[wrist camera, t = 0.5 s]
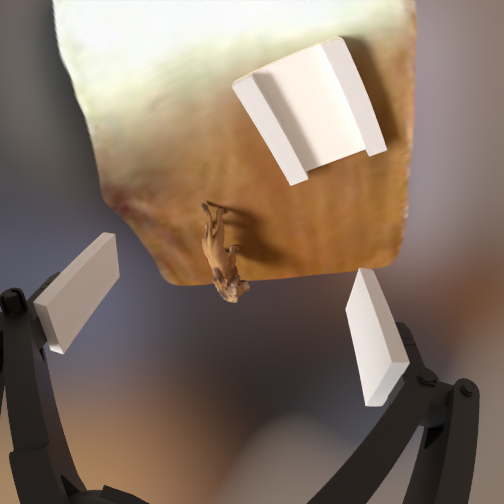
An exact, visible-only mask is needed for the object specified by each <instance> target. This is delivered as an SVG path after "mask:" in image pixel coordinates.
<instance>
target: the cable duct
mask: <svg viewBox="0 0 504 504" xmlns="http://www.w3.org/2000/svg"><path fill="white" fill-rule="evenodd" d="M232 88H233V90H234V91H235V93H236V94H237V96H238V98H239V99H240V101H241V102H242V104H243V106H244V107H245V109H246V110H247V112H248V114H249V115H250V117H251V119H252V120H253V122H254V124H255V125H256V127H257V129H258V130H259V132H260V134H261V135H262V137H263V139H264V140H265V142H266V144H267V145H268V147H269V149H270V150H271V152H272V154H273V156H274V157H275V159H276V161H277V163H278V164H279V166H280V168H281V170H282V171H283V173H284V175H285V177H286V178H287V180H288V182H289V184H290V185H291V186H292V185H294V184H297V183H299V182H302V181H305V180H307V179H308V173H307V171H309V170H312V169H314V168H317V167H319V166H322V165H325V164H327V163H330V162H332V161H335V160H338V159H340V158H343V157H346V156H349V155H351V154H354V153H357V152H359V151H362V150H365V149H366V151H367V153H368V155H369V156H372V155H375V154H377V153H380V152H383V151H386V150H387V148H386V145H385V142H384V139H383V136H382V133H381V130H380V127H379V124H378V122H377V119H376V116H375V113H374V110H373V108H372V105H371V102H370V100H369V97H368V95H367V92H366V90H365V87H364V85H363V82H362V80H361V78H360V75H359V73H358V70H357V68H356V66H355V64H354V61H353V59H352V57H351V55H350V52H349V50H348V48H347V46H346V44H345V42H344V40H343V38H341V37H339V36H336V37H333V38H330V39H328V40H325V41H322V42H320V43H317V44H314V45H312V46H309V47H307V48H304V49H302V50H299V51H297V52H295V53H292V54H290V55H288V56H285V57H283V58H281V59H278V60H276V61H274V62H272V63H270V64H267V65H265V66H263V67H261V68H259V69H257V70H255V71H253V72H251V73H249V74H247V75H244V76H242V77H241V78H239V79H237V80H235V81H234V83H233V85H232Z"/></svg>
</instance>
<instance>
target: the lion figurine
mask: <svg viewBox="0 0 504 504" xmlns="http://www.w3.org/2000/svg"><path fill="white" fill-rule="evenodd" d="M201 206H202V207H203V209H204V211H205V212H206V213H207V214H208V217H209V224H206V225H205V229H206V231H205V234H204V237H203V239H202V246H203V250H204V253H205V255H206V256H207V258H208V261H209V264H210V266H211V268H212V270H213V282H214V284H215V286H216V288H217V290H218V292H219V293H220V295H221V296H222V297H223V298H224V299H225V300H227V301H228V302H237V300H238V297H239V296H241V295H242V294H243V292H245V291H248V290H249V289H250V287H249V285H248V283H247V282H246V280H240V276H239V275H238V270H237V268H236V266H235V263H236V256H235V252H237V251H238V250H239V247H238V246H235V245H234V246H231V247H230V256H229V257H228V254H227V252H226V250H225V248H224V247H223V243H224V225H223V221H222V215H223V214H224V212H225V211H224V209H223V208H219V209H217V211H216V212H217V214H216V219H217V222H218V226H217V231H216V233H215V235H214V236H213V235H212V229H213V223H212V216H211V213H210V211H209V209H208V206H207V205H205V204H204V203H202V204H201Z"/></svg>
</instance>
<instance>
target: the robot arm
mask: <svg viewBox="0 0 504 504" xmlns="http://www.w3.org/2000/svg"><path fill="white" fill-rule="evenodd" d="M119 277H120V275H119V267H118V259H117V249H116V240H115V234H111V233H102V234H101V235H100V236H99V237H98V238H97V239H96V240H95V241H94V242H93V243H91V244H90V245H89V246H88V247H87V248H86V249H85V250H84V251H83V252H82V253H81V254H80V255H79V256H78V257H77V258H76V259H75V260H74V261H73V262H72V263H71V264H70V265H69V266H68V267H67V268H66V269H65V270H64V271H63V272H62V273H60V272H58V273H56V274H54V275H53V276H51V277H49V278H48V279H47V280H46V281H45V282H44V284H42V286H41V287H40V288H39V289H38V290H37V291H36V292H35V293H34V294H33V295H32V296H31V297H30V298H29V299H28V300H27V301H26V299H25V297H24V293H23V291H22V290H21V289H20V288H10V289H8V290H6V291H4V292H3V293H2V294H1V295H0V307H1V309H2V312H0V414H1V405H2V399H3V392H4V386H5V388H6V389H5V390H6V400H7V409H8V417H9V423H10V430H11V436H12V442H13V447H14V450H13V452H10V454H9V460H10V466H11V470H12V474H13V478H14V482H15V486H16V490H17V494H18V497H19V501H20V504H149V503H147V502H145V501H143V500H141V499H140V498H138V497H136V496H134V495H132V494H129V493H126V492H123V491H120V490H117V489H114V488H111V487H109V486H106V485H104V487H103V490H88V491H87V489H86V487H85V485H84V484H83V482H82V481H81V479H80V477H79V476H78V473H77V471H76V468H75V465H74V463H73V460H72V457H71V454H70V451H69V448H68V445H67V441H66V438H65V435H64V432H63V428H62V425H61V421H60V417H59V414H58V410H57V406H56V402H55V398H54V394H53V389H52V385H51V380H50V375H49V370H48V364H47V359H46V353H45V350H44V347H43V346H44V344H45V343H46V342H48V344H49V346H50V349H51V350H52V351H55V352H58V353H61V354H64V353H65V352H66V350H67V349H68V347H69V346H70V344H71V342H72V341H73V340H74V338H75V337H76V335H77V334H78V332H79V331H80V330H81V328H82V327H83V325H84V324H85V323H86V321H87V320H88V318H89V317H90V316H91V314H92V313H93V311H94V310H95V309H96V307H97V306H98V305H99V303H100V302H101V301H102V299H103V298H104V296H105V295H106V294H107V293H108V291H109V290H110V288H111V287H112V286H113V285H114V283H115V282H116V281H117V279H118V278H119ZM346 313H347V317H348V322H349V326H350V330H351V335H352V339H353V344H354V349H355V353H356V358H357V363H358V368H359V372H360V378H361V383H362V388H363V394H364V399H365V405H366V406H382V405H383V404H384V402H385V401H386V400H387V398H388V400H389V405H390V406H389V407H388V409H387V410H386V411H385V413H384V414H383V415H382V417H381V418H380V420H379V421H378V422H377V424H376V425H375V426H374V427H373V429H372V430H371V431H370V433H369V434H368V435H367V437H366V438H365V439H364V440H363V442H362V443H361V444H360V445H359V447H358V448H357V449H356V450H355V451H354V453H353V454H352V455H351V456H350V458H349V459H348V460H347V461H346V462H345V463H344V465H343V466H342V467H341V468H340V469H339V470H338V471H337V472H336V474H335V475H334V476H333V477H332V478H331V479H330V480H329V481H328V482H327V483H326V484H325V485H324V486H323V487H322V488H321V490H320V491H319V492H318V493H317V494H316V495H315V496H314V497H313V498H312V499H311V500H310V501H309V502H308V503H307V504H366V503H367V502H368V500H369V499H370V498H371V496H372V495H373V494H374V493H375V491H376V490H377V488H378V487H379V486H380V484H381V483H382V482H383V480H384V478H385V477H386V476H387V475H388V473H389V472H390V470H391V469H392V467H393V466H394V464H395V463H396V461H397V460H398V458H399V457H400V455H401V453H402V452H403V450H404V448H405V447H406V445H407V444H408V442H409V440H410V439H411V437H412V435H413V434H414V432H415V430H416V429H417V427H418V425H420V426H424V431H423V435H422V439H421V443H420V448H419V451H418V455H417V459H416V462H415V466H414V469H413V473H412V476H411V479H410V482H409V486H408V489H407V492H406V495H405V497H404V500H403V503H402V504H468V500H469V495H470V490H471V484H472V478H473V472H474V464H475V457H476V448H477V437H478V423H479V397H480V394H479V389H478V387H477V386H476V384H474V383H473V382H472V381H470V380H469V379H465V378H462V379H459V380H457V381H456V383H455V384H454V385H450V384H446V383H443V382H439V379H438V377H437V375H436V374H435V373H434V372H433V371H431V370H430V369H427V368H425V366H424V363H423V361H422V358H421V355H420V353H419V351H418V348H417V346H416V343H415V341H414V340H413V336H412V333H411V331H410V329H409V328H408V327H407V326H406V325H405V324H404V323H400V322H394V319H393V317H392V314H391V312H390V310H389V307H388V305H387V302H386V300H385V297H384V295H383V292H382V290H381V288H380V285H379V283H378V281H377V278H376V276H375V274H374V272H373V270H372V269H365V268H359V270H358V273H357V276H356V280H355V283H354V286H353V289H352V292H351V295H350V298H349V301H348V304H347V307H346Z"/></svg>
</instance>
